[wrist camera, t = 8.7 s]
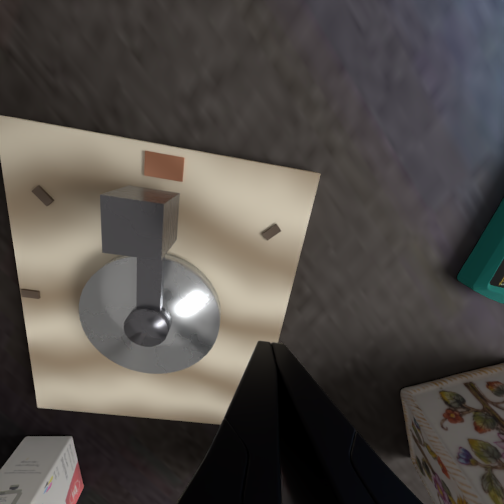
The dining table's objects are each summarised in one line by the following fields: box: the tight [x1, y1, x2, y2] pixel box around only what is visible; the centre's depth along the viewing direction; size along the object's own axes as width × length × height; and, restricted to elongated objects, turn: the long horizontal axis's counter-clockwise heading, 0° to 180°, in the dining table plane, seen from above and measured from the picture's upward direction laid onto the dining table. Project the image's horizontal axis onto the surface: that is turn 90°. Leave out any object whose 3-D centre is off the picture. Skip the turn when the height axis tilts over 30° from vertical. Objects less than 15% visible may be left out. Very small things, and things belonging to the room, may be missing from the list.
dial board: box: [0, 115, 320, 425], centre depth 22 cm, size 24×20×2 cm
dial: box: [79, 185, 221, 374], centre depth 18 cm, size 14×10×5 cm
